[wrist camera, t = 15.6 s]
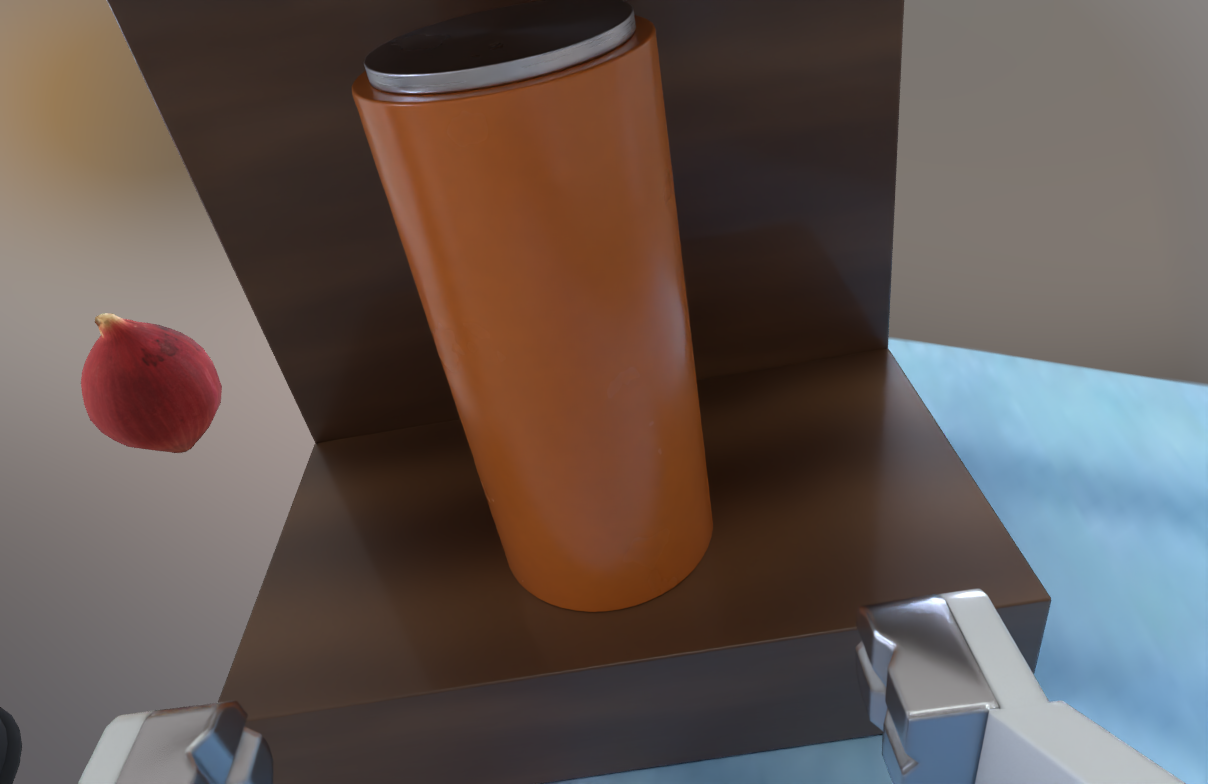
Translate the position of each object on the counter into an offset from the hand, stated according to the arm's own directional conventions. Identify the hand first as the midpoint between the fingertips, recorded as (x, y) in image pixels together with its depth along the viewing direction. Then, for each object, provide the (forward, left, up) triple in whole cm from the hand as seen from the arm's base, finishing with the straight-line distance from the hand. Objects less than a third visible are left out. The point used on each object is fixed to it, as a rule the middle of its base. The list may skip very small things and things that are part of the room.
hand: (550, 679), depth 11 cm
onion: (+33, -10, -14) cm, 37 cm away
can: (+6, -9, -9) cm, 14 cm away
